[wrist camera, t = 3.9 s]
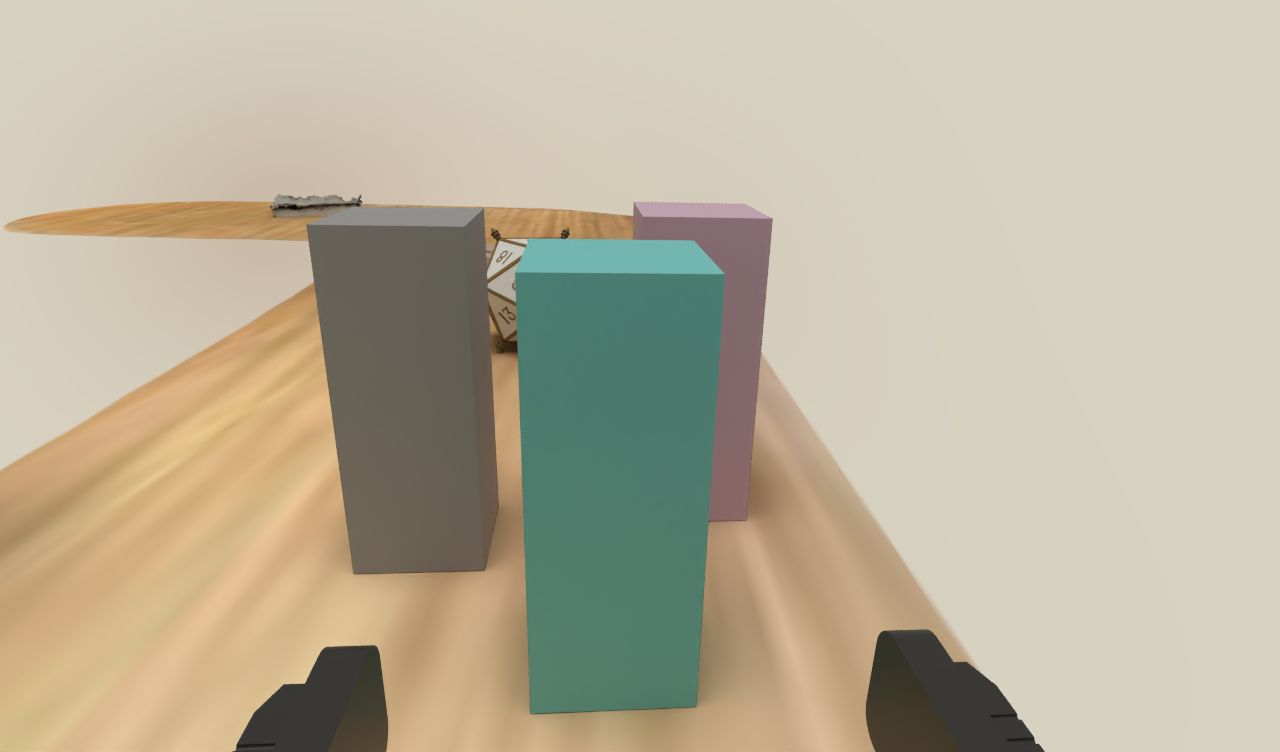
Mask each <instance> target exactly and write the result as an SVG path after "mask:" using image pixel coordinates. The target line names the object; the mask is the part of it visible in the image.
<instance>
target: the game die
mask: <svg viewBox="0 0 1280 752" xmlns="http://www.w3.org/2000/svg"><path fill="white" fill-rule="evenodd" d="M562 232H563V233H561V237H560V238H531V239H566V238H568V235H570V234H569V228H567V229H565V230H563V231H562ZM491 233H492V234H491V236H493V238H495V239H496V240H497V242H496V245H495V247H494V250H493V253H492V255H491V258H490V260H489V263H488V265H487V283H488V303H489V314H490V316H491V318H492V320H493V322H494V324H495V326H496V328H497V331H498V333H499V335H500V337H501V339H502V341H501V342H500V343H499V344H498V346H497V353H498V352H500V351H502V350H504V347H505V343H506V342H517V317H516V288H515V271H516V269H517V266H518V264H519V262H520V259H521V257H522V255H523V252H524V250H525V248H526V245H527V243H528V241H529V238H501V237H500V233H498V230H495V229H493V228H491Z"/></svg>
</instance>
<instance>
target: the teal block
mask: <svg viewBox="0 0 1280 752" xmlns="http://www.w3.org/2000/svg"><path fill="white" fill-rule="evenodd" d="M724 283H725V274H724V272H723V271H722V270H721V269H720V268H719V267H718V266H717V265H716V264H715V263H714V262H713V261H712V260H711V258H710V257H709V256H708V255H707V254H706V253H705V252H704V251H703V250H702V249H701V248H700V247H699V246H698V244H697V243H696V242H695V241H686V240H609V239H531V238H529V241H528V243H527V245H526V248H525V250H524V252H523V255H522V257H521V259H520V262H519V264H518V266H517V269H516V271H515V288H516V317H517V345H518V373H519V402H520V430H521V459H522V487H523V515H524V544H525V572H526V601H527V629H528V657H529V686H530V714H538V713H562V712H586V711H610V710H633V709H657V708H681V707H696V701H697V686H698V671H699V656H700V641H701V626H702V611H703V596H704V581H705V566H706V551H707V536H708V522H709V507H710V492H711V477H712V462H713V447H714V432H715V417H716V402H717V387H718V372H719V357H720V342H721V328H722V313H723V298H724Z"/></svg>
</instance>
